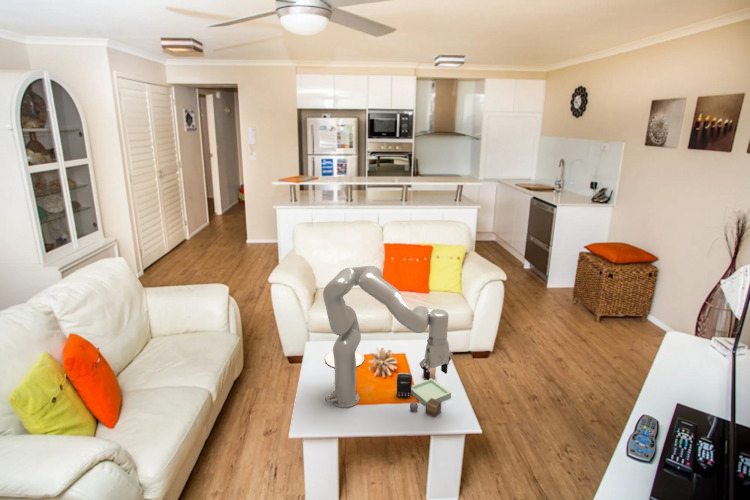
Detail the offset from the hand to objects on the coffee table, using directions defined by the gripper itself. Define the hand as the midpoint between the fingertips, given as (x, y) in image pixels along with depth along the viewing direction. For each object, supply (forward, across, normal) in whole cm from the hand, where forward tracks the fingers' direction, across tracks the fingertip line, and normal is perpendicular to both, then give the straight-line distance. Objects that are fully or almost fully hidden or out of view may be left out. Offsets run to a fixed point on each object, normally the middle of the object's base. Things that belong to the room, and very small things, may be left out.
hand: (435, 375), depth 188 cm
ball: (+18, -6, +6) cm, 20 cm away
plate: (+19, -11, +59) cm, 63 cm away
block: (+18, 0, 0) cm, 18 cm away
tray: (+18, +7, +11) cm, 22 cm away
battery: (+18, -4, +16) cm, 25 cm away
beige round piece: (+18, +16, +22) cm, 33 cm away
